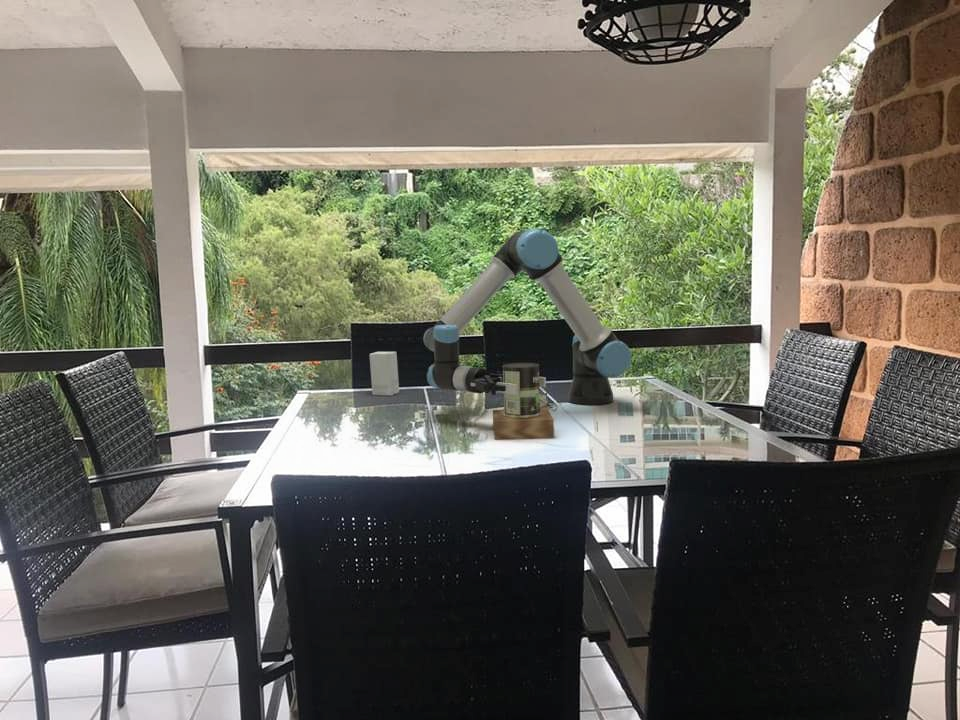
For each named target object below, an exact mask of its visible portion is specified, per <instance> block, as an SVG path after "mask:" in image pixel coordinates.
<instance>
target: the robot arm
mask: <svg viewBox="0 0 960 720" xmlns="http://www.w3.org/2000/svg"><path fill="white" fill-rule="evenodd" d="M563 262H564V258H563V257H562V255H561V254H560V252H559V244H558V242H557V240H556V238H555V237H554V236H553V235H552V234H551V233H550V232H548V231H546V230H543V229H539V228H532V229H531V228H530V229H527V230H520V231H517V232H515V233H513V234H512V235H511V236H510V237H508V239H507V240H506V241H505V242H503V244H502V245H501V247H500V248H499V249H498V250H497V251H496V253H495V254H494V255H493V256H492V257H491V262H490V263H489V265H488V266H487V267H486V268H485V269H484V271H483V272H481V274H480V275H479V276H478V277H477V279H475V281H474V282H472V284H471V285H470V286H469V287H468V288H467V290H465V292H463V294H462V295H461V296H460V297H459V298H458V300H457V301H456V302H455V303H454V304H453V305H452V306H451V307H450V308H449V309H448V310H447V311H446V312H445V314H443V316H442V317H441V318H440V319H439V320H438V322H437V323H436V324H434V326H433V327H430V328H428V329H427V330H426V331H425V332H424V334H423V344H424V345H425V347H426V348H427V349H428V350H429V351H431V352H433V354H434V358H433V359H434V363H433V364H431V365H430V366H429V367H428V369H427V370H428V371H427V373H426V379H427V383H428V385H430V387H432V388H435V389H440V390H443V391H444V390H445V391H447V390H448V391H455V392H463V394H467V393H474V394H483V393H485V394H489V393H490V394H491V395H492V396H495V395H496V394H498V393H499V394H500V393H501V394H504V393H507V394H517V384H511V383H503V373H498V374H496V373H489V371H488V370H487V369H486V368H484V367H476V366H470V365H469V366H467V365H460V335H459V334H460V333H461V332H462V331H463V330H464V329H465V328H466V327H467V326H468V324H469V323H470V322H472V320H473V319H474V318H475V317H476V316H477V315H478V314H479V312H481V310H483V308H485V306H486V305H487V304H488V302H489V301H490V300H492V298H493V297H494V296H495V295H496V294H497V293H498V291H500V289H502V288H503V286H504V285H505V284H506V283H507V282H508V281H509V280H510V279H515V278H516V276H517V275H519V274H520V273H521V272H522V271H524V272H525V274H526V275H527V276H528V278H529V279H530V280H531V281H532V282H537V283H538V284H540V286H541V287H542V288H543V290H544V292H545V293H546V295H547V296H548V297H549V299H550V301H551V302H552V303H553V305H554V306H555V308H556V309H557V311H558V312H559V313H560V315H561V316H562V318H563V319H564V320H565V322H566V323H567V324H568V327H570V329H571V330H572V331H573V333H574V335H573V338H572V344H571V346H572V372H573V373H572V374H573V375H572V376H573V377H572V382H571V385H570V388H569V390H568V395H567V399H568V402H569V403H571V404H576V405H581V406H582V405H584V406H585V405H587V406H592V405H593V406H597V405H607V404H611V403H613V402H614V393H613V389H612V387H611V384H610V380H609V378H617V377H620V376H621V375H623V374H625V373H626V371H628V369H629V368H630V365H631V360H632V353H631V350H630V348H629V347H630V346H628V345H627V344H626V343H624V341H621V340H619V339H618V338H617V336H616V334H615V333H614V332H613V330H612V329H611V327H608V326H604V325H603V324H602V323H601V321H600V320H599V318H598V317H597V315H596V314H595V312H594V311H593V310H592V308H591V306H590V304H588V303H587V300H586V299H585V298H584V296H583V295H582V294H581V292H580V291H579V289H578V288H577V286H576V285H575V283H574V282H573V280H572V278H571V277H570V275H569V274H568V272H567V271H566V270H565V268H564V267H563ZM546 380H547V377H546V376H545V377H544V376H539V388H546V387H547V386H546V385H547V384H546V383H547V381H546Z"/></svg>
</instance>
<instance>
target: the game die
mask: <svg viewBox="0 0 960 720" xmlns="http://www.w3.org/2000/svg"><path fill="white" fill-rule="evenodd" d="M539 397H540V409H545V408H548V410H549V411H550V409H554V406H551V404H550V401H549V399H548V392H545V394H541V393H539Z"/></svg>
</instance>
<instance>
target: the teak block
mask: <svg viewBox="0 0 960 720" xmlns="http://www.w3.org/2000/svg"><path fill="white" fill-rule="evenodd" d="M554 422H555V421H554V418H553V416H552V414H551V412H550V410H548V408H545V409H540V415H539V416H536V417H530V418H511V417H506V416H504V409H493V410H492V427H493V435H494V436H495V437H494V436H493V437H494V440H520V439H521V440H522V439H524V440H527V439H554V436H555V431H554V430H555V429H554V428H555V426H554V425H555V424H554Z"/></svg>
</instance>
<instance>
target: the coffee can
mask: <svg viewBox="0 0 960 720" xmlns="http://www.w3.org/2000/svg"><path fill="white" fill-rule="evenodd" d="M501 366H502V374H503V383H511V384H517V394H507V393H503V410H504V416H506V417H511V418H530V417H536V416H539V415H540V397H539V394H540V387H539V377H540V364H539V363H535V362H512V363H505V364H503V365H501Z"/></svg>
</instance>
